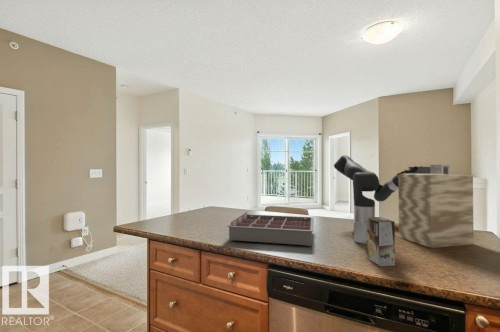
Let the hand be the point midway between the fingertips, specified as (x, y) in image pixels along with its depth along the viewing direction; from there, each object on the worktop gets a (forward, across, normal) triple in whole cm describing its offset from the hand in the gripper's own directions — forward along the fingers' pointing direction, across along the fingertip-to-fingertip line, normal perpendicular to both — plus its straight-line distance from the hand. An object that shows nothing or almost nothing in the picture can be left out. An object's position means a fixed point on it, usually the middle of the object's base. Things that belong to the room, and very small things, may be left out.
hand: (419, 167), depth 136 cm
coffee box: (+8, -51, +46) cm, 69 cm away
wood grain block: (-7, -5, +37) cm, 38 cm away
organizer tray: (-29, -79, +25) cm, 88 cm away
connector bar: (+2, 0, +5) cm, 6 cm away
